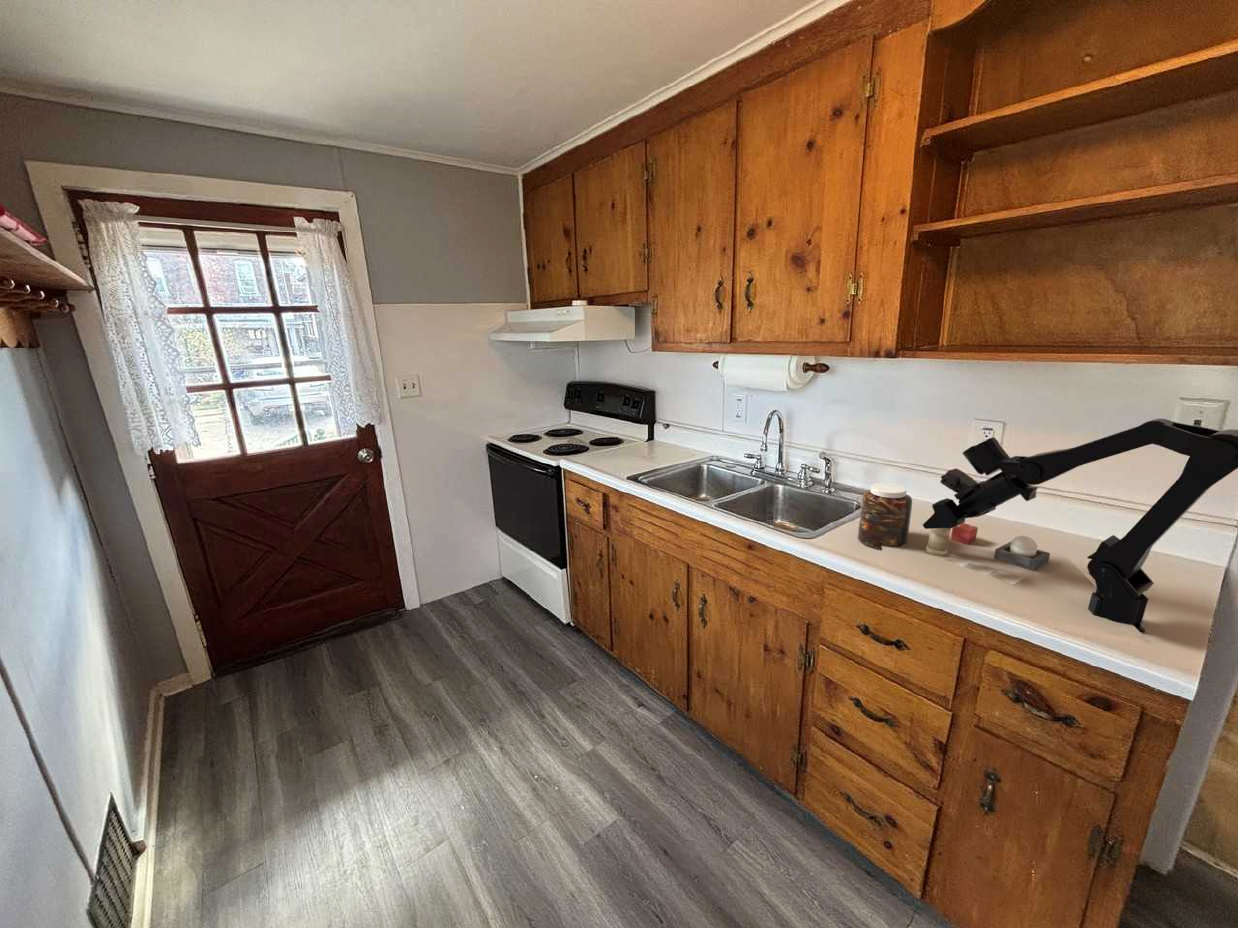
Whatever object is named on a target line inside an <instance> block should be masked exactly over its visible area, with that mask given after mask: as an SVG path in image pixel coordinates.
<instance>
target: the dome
mask: <svg viewBox="0 0 1238 928" xmlns="http://www.w3.org/2000/svg"><path fill="white" fill-rule="evenodd" d="M1010 542H1011V545H1010V550H1009V552H1012V553H1015V554H1018V555H1021V556H1024V557H1028V558H1034V557H1035V555H1036V551H1037V549H1038V545H1037V542H1036V540H1035V539H1033V538H1032V537H1030V536H1027V535H1018V536H1016V537H1014V538H1013V539H1012V540H1011V541H1010Z"/></svg>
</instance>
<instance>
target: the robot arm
mask: <svg viewBox="0 0 1238 928" xmlns="http://www.w3.org/2000/svg"><path fill="white" fill-rule="evenodd" d="M1150 445H1156V446H1158V447H1162V448H1164V449H1167V450H1169V451H1172V452H1175V453H1178V454H1181V455H1183V456H1187V457H1188V459H1187V460H1186V462H1185V465H1184V467H1183V469H1182V471H1181V474H1180V475H1179V477H1178V479H1177V480H1175V482H1174V483H1173V484H1171V486H1170V487H1169V488H1168V489H1167V490H1166V491H1165V492H1164V493H1163V494H1162V495H1161V497H1160V498H1159V499H1158V500H1157V501H1156V502H1155V503H1154V504H1153V505H1152V506H1151V507H1150V508H1149V510H1148V511H1146V513H1145V514H1143V516H1142V517H1141V518H1140V519H1139V520H1138V521H1137V522H1136V523H1135V524H1134V525H1133V527H1131V529H1129V531H1128V532H1126V534H1125V535H1124V536H1123V537H1122V538H1121V539H1120V538H1119V537H1117V536H1116V535H1114V534H1113V535H1111V536H1110V537H1107V538H1106V539H1105V540H1103V541H1100V542H1101V543H1100V544H1099V545H1098V547H1097V549H1096V550H1095V552H1093V553H1091V554H1089V555H1088V556H1087V557H1086V558H1087V559H1089V562H1088V563H1087V566H1086V567H1087V570H1088V573H1089V575H1090V577H1091V578H1092V579H1094V582H1095V586H1096V589H1095V592H1094V591H1093V592H1092V593H1091V595H1090V599H1089V604H1088V607H1087V610H1088V611H1089V612H1090V613H1091V614H1092V615H1093V616H1095V617H1099V618H1102V619H1103V618H1104V619H1107V620H1109V621H1111V622H1115V623H1118V624H1123V625H1133V627H1134V628H1135V629H1136V630H1137V631H1138V632H1139V633H1145V632H1146V629H1145V628H1144V627H1143V626H1142V623H1143V622H1142V621H1143V618H1144V616H1145V613H1146V608H1147V605H1148V602H1149V598H1148V597H1147V596H1146V595H1145V594H1144V593H1145V592H1147V591H1148V590H1149V589H1150V588H1151V587H1152V586H1153V585H1154V581H1153V580H1152V579H1151V577H1149V576H1148V574H1147V573H1146V572H1145V571H1144V570H1143V569H1142V568H1143V565H1144V564H1145V562H1146V560H1147V559H1148V557H1149V555H1150V552H1151V550H1152V548H1153V546H1154V545H1155V544H1157V542H1158V541H1159V540H1160V539H1161V538H1162V537H1163V536H1164V535H1165V534H1166V533H1167V532H1168V531H1169V530H1170V529H1171V528H1172V527H1173V526H1174V525H1175V524H1176V523H1177V522H1178V521H1179V520H1180V519H1181V518H1182V517H1183V515H1185V514H1186V513H1187V512H1188V511H1189V510H1190V509H1191V508H1192V507H1193V506H1194V505H1195V504H1196V503H1197V501H1198V500H1200V498H1201V497H1203V495H1204V494H1206V493H1207V491H1209V489H1210V488H1212V486H1214V485H1215V484H1217V483H1218V482H1220V481H1222V480H1223V479H1224V478H1226V477H1227V476H1229V475H1230V474H1232V473H1233V472H1234V471H1236V470H1238V429H1225V430H1218V429H1217V430H1216V429H1214V428H1208V427H1204V426H1198V425H1192V424H1191V425H1190V424H1186V423H1181V422H1176V421H1172V420H1169V419H1167V418H1155V419H1151V420H1148V421H1145V422H1144V423H1142V424H1140V425H1138V426H1134V427H1132V428H1128V429H1127V430H1123V431H1119V432H1117V433H1114V434H1111V435H1108V436H1105V437H1102V438H1099V439H1096V440H1093V441H1089V442H1087V443H1086V442H1085V443H1084V444H1081V445H1078V446H1075V447H1069V448H1064V449H1057V450H1051V451H1050V450H1049V451H1046V452H1045V451H1044V452H1041V453H1036V454H1033V455H1030V456H1024V455H1015V456H1012V457H1011V456H1010V455H1009V454H1008V453H1007V452H1006V451H1005V450H1004V448H1003V447H1002V446H1001V444H1000V443H999V441H998V440H997V438H996V437H990V438H988V439H986V440H983V441H982V442H980V443H977V444H975V445H973V446H970V447H969V448H967V449H966V450H964V451H963V452H962V455H963V456H964V457H965V459H966V460H967V461H968V462H969V464H970V465H971V466H972V468H973V469H974V470H975V472H976V473H977V474H978V475H985V476H986V477H988V476H990V475H993V474H994V475H993V476H991V477H990V478H988V479H986V480H983V481H980V482H979V483H978V482H977V481H976V480H975V479H974V478H973V477H971V476H970V475H968V474H966V473H965V472H964V471H962V470H961V469H960V468H959V469H958V468H952V469H950V470H947V472H945V474H942V475H941V477H940V481H939V482H940V483H941V485H943V486H945V487H946V488H947V489H949V490H952V491H953V492H954V493H955V494H954V495H953V496H954V498H955V499H956V500H958V504H957V503H956V502H955V501H954V499H952V498H948V497H946V498H943V499H941V500H938V501H936V502H934V503H933V504H932V505H931V508H932V510H933V512H934V513H933V514H932V515H931V516H930V517H929V518H928V519H927V520H926V521H925V522H924V523H922V526H923V528H924V529H925V530H927V529H929V530H931V529H933V528H948V529H953V527H956V526H958V525H960V524H962V523H965V522H966V519H969V518H972V519H973V518H978V517H981V516H984V515H986V514H988V513H991V512H993V511H995V510H996V508H997V507H998V506H1001V505H1002V504H1004V503H1005V502H1008V501H1010V500H1012V499H1014V498H1016V497H1018V496H1021V497H1022V498H1023V499H1024V501H1025V502H1029V501H1031V500H1033V499H1035V498H1037V491H1038V487H1037V486H1036V485H1040V484H1044V483H1046V482H1048V481H1050V480H1053V479H1054V480H1055V479H1056V478H1058V477H1059V476H1061V475H1064V474H1066V473H1068V472H1070V471H1072V470H1074V469H1076V468H1078V467H1081V466H1083V465H1087V464H1090V463H1095V462H1097V461H1100V460H1103V459H1107V458H1109V457H1113V456H1116V455H1119V454H1123V453H1125V452H1129V451H1132V450H1136V449H1139V448H1143V447H1145V446H1150ZM998 471H1001V472H999V473H996V472H998ZM995 473H996V474H995Z"/></svg>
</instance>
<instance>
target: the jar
mask: <svg viewBox="0 0 1238 928" xmlns="http://www.w3.org/2000/svg"><path fill="white" fill-rule="evenodd" d="M861 500H862V501H861V506H860V507H861V508H860V514H859V516H860V517H859V522H858V533H857V540H858V541H859V542H860V543H861V544H862V545H864V546H866V547H869V548H872V549H875V550H880V551H883V547H887V548H888V547H889V548H893V547H894V548H895V547H903V546H905V545H907V543H908V537H909V530H910V526H911V525H910V524H911V516H912V509H913V499H912V497H911V496H910V495H909V494H907V487H905V486H903V485H900V484H896V483H889V482H876V483H873V484H871V485H870V489H869V490H866V491H865V492H864V493H863V496H862V499H861Z"/></svg>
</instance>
